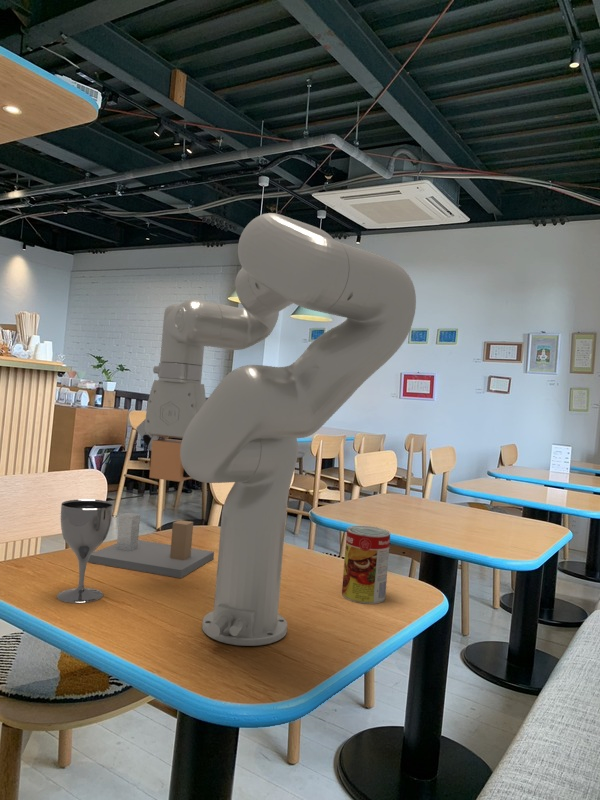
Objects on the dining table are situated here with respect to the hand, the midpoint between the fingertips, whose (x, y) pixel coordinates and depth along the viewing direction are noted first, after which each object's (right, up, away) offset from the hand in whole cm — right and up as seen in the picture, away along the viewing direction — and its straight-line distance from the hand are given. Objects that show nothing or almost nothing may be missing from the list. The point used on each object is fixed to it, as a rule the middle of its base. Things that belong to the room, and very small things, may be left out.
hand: (172, 473), depth 105 cm
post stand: (-7, -19, +13) cm, 24 cm away
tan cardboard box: (0, -1, 0) cm, 1 cm away
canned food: (+35, -23, +1) cm, 41 cm away
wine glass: (-13, -19, -10) cm, 25 cm away
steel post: (-12, -17, +14) cm, 26 cm away
